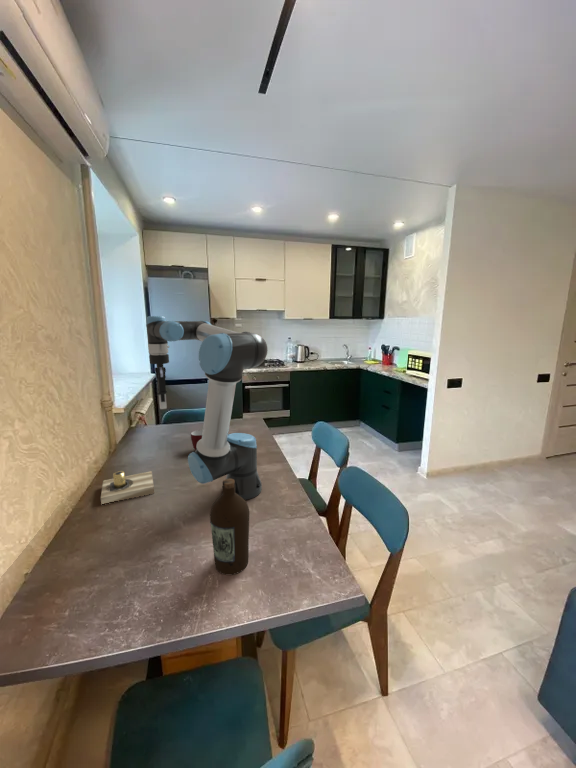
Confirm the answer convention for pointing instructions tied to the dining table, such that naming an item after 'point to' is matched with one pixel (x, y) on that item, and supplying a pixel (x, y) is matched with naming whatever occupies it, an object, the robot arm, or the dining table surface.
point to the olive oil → (230, 530)
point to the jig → (128, 488)
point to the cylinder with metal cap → (119, 479)
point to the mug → (196, 437)
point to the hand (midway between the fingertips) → (163, 408)
